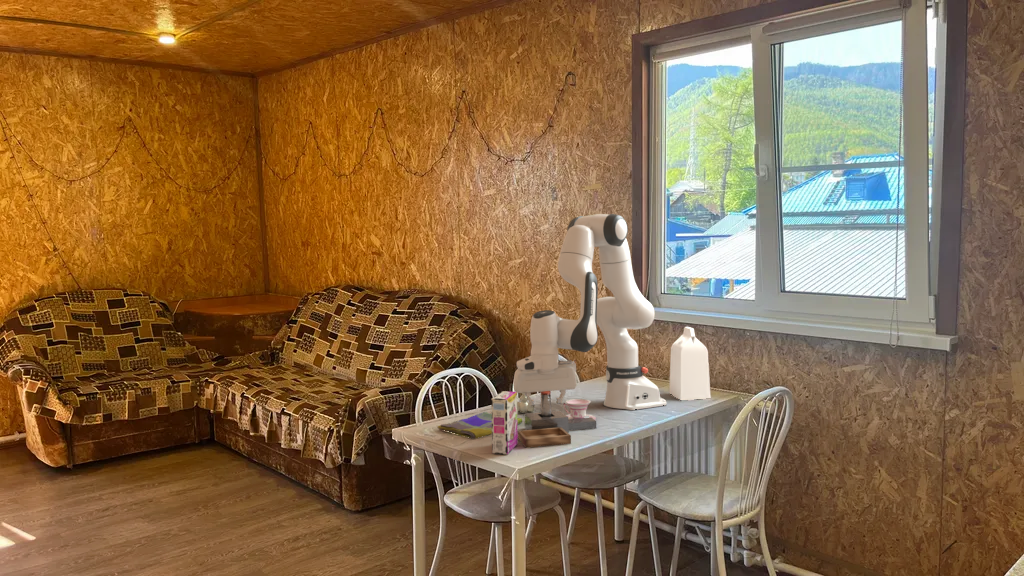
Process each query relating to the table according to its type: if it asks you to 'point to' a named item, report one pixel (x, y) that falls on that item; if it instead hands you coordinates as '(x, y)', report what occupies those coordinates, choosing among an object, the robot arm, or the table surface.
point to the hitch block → (557, 422)
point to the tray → (544, 437)
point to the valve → (524, 405)
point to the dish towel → (472, 426)
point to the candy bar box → (504, 422)
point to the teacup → (577, 408)
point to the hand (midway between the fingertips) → (545, 404)
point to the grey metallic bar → (546, 404)
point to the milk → (689, 368)
